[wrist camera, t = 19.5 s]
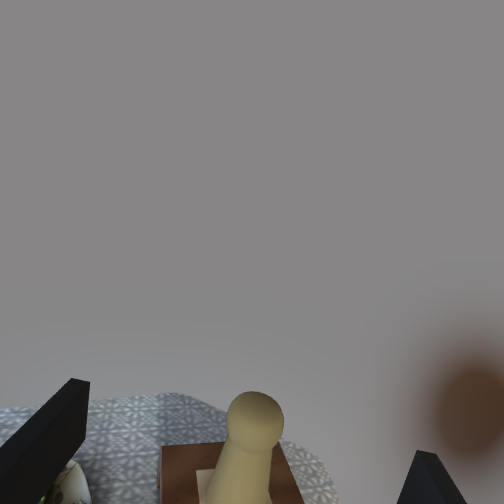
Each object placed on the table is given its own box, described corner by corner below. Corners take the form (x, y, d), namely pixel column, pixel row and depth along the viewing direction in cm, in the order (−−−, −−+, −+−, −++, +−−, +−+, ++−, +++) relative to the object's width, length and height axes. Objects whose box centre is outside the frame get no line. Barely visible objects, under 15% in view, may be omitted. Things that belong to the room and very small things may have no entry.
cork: (278, 500, 31) (304, 406, 28) (240, 552, 26) (267, 444, 23) (232, 460, 34) (252, 373, 32) (191, 499, 29) (211, 400, 27)
